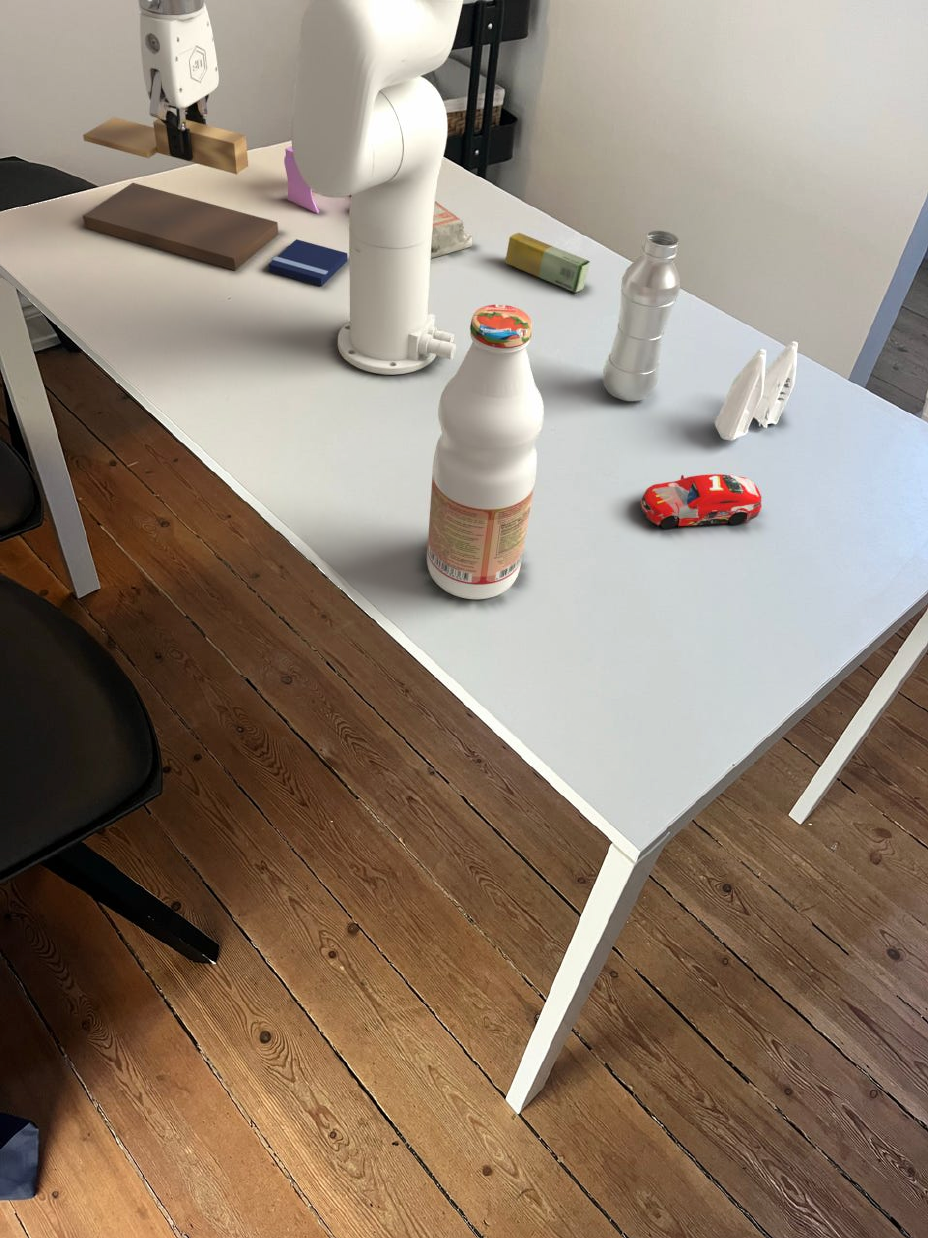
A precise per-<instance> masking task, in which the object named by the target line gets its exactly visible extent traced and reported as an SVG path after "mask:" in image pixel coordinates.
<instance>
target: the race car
mask: <svg viewBox="0 0 928 1238" xmlns="http://www.w3.org/2000/svg"><path fill="white" fill-rule="evenodd" d="M756 485H757V484H756V483H755V482H754V481H753V480H751V479H749V478H747V477H745V476H737V475H732V474H720V473H719V474H718V473H717V474H716V473H714V474H710V473H709V474H698V475H691V476H687V477H685V476H684V474H681V476H680V479H678V480H674V481H667V482H661V483H654V484H652V485H650V486H649V487H647V489H646V490H645V491H644V493H643V495H642V496H641V500H640V503H639V504H640V510H641V513H642V514H643V515H644V517H645V518H646V519H647V520H648V521H650V522H652V523H653V524H655V525H657V526H661V528H662V529H664V530H670V529H673V528H674V527H676V526H677V525H678V527H683V526H684V527H685V526H701V525H717V524H718V525H720V524H721V525H722V524H728V523H729V524H730V525H732V526H737V525H740V524H742V523H744V522H749V521H752V520H754V519H755V518H757V517H758V516H759V514H760V512H761V509H762V496H761V495H762V494H761V493H760V490H759V488H758V487H757V486H756Z"/></svg>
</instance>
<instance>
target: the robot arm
mask: <svg viewBox="0 0 928 1238" xmlns="http://www.w3.org/2000/svg"><path fill="white" fill-rule="evenodd" d="M463 4H464V0H309V3H308V5H307V7H306V9H305V11H304V14H303V17H302V20H301V26H300V32H299V39H298V48H297V58H296V68H295V78H294V89H293V98H292V99H293V100H292V109H291V123H290V139H291V140H290V142H291V146H292V150H293V155H294V159H295V163H296V166H297V168H298V171H299V173H300V175H301V177H302V178H303V180H304V181H305V183H306V184H307V185H308V186H309V187H310V188H311V189H312V192H314V193H316V194H318V195H320V196H323V197H326V198H331V199H337V198H338V199H340V198H345V197H349V196H350V195H352V196H351V197H350V201H349V210H348V211H349V212H348V239H349V240H348V248H349V249H348V251H349V252H348V253H349V254H348V255H349V257H348V258H349V259H348V261H349V262H348V263H349V265H348V266H349V268H348V269H349V321H348V322H347V323H345V324H344V325H343V326H342V327H341V329H339V332H338V334H337V348H338V349H337V350H338V351H339V354H340V355H341V356H342V358H343V359H344V360H345V361H347V362H348V363H349V364H350V365H352V366H354V367H355V368H357V369H360V370H362V371H365V372H367V373H372V374H373V373H374V374H378V375H388V376H389V375H392V376H393V375H394V376H395V375H405V374H410V373H413V372H416V371H419V370H421V369H423V368H425V367H427V366H428V365H430V364H431V363H432V362H433V361H434V360H435V358H436V356H438V357H442V358H443V359H448V360H451V361H453V359H454V358H455V356H456V353H457V344H456V343H454V340H455V334H454V333H453V332H448V331H443V330H440V329H438V327H436V326H435V322H436V315H435V314H433V313H429V312H428V311H429V295H430V278H431V277H430V276H431V259H432V258H431V242H432V231H433V214H434V202H435V201H436V192H437V186H438V180H439V175H440V171H441V167H442V163H443V158H444V155H445V150H446V147H447V139H448V128H449V127H448V115H447V110H446V107H445V103H444V101H443V98H442V97H441V94H440V93H439V91H438V89H437V88H436V87H435V86H434V85H433V84H432V83H431V81H429V80H428V79H426V78H424V77H422V76H424V75H427V74H429V73H431V72H434V71H435V70H438V68H440V67H441V66H442V65H443V64H445V62H446V61H447V60H448V58H449V55H450V53H451V51H452V48H453V46H454V42H455V39H456V34H457V30H458V26H459V21H460V16H461V12H462V8H463ZM138 8H139V11H140V14H139V17H140V18H139V28H140V29H139V32H140V33H139V36H140V51H141V52H140V53H141V62H142V63H141V64H142V73H143V80H144V85H145V86H144V87H145V90H146V94H147V97H148V99H149V101H150V102H149V103H150V104H149V109H148V112H149V116H150V117H152V118H155V119H160V120H161V121H162V123H163V125H164V126H166V130H167V137H168V144H169V151H170V155H171V156H172V158H175V157H176V158H175V159H178V158H179V159H178V160H182V159H183V161H186V160H187V161H186V162H189V161H191V160H192V159H193V153H192V144H191V136H190V129H188V128H186V120H189V121H193V122H197V123H201V124H205V125H207V121H206V120H207V119H206V117H207V116H208V107H207V103H208V99H209V96H210V94H212V93H213V92H214V91H215V90H216V89H217V88H218V86H219V83H220V78H219V68H218V67H219V66H218V59H217V51H216V47H215V46H216V45H215V40H214V33H213V28H212V24H211V20H210V16H209V13H208V9H207V6H206V3H205V2H204V0H138ZM171 109H174V110H175V112H173V111H171ZM171 156H170V157H171Z"/></svg>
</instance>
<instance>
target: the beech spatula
mask: <svg viewBox="0 0 928 1238" xmlns="http://www.w3.org/2000/svg"><path fill="white" fill-rule="evenodd" d="M152 125H153V126H149V125H145V124H142V123H139V122H134V121H131V120H127V119H124V118H119V117H116V116H113V117H112V118H109V119H107V120H106V121H104V122H103V123H101V124H99V125H98V126H96V127H94V128H92V129H91V130H89V131H87V132H86V133H84V134H83V135H82V138H83V141H84V142H87V143H91V144H95V145H99V146H102V147H106V148H109V149H113V150H117V151H120V152H124V153H128V154H130V155H134V156H138V157H142V158H145V159H150V158H152V157H153V156H155V155H157V154H159V155H164V156H168V157H172V156H171V155H170V151H169V144H168V137H167V130H166V126H164V125H163V123H162V121H161V120H160V119H159V118H156V120H154V121H153V122H152ZM186 128H188V129H190V136H191V144H192V153H193V159H192V160H191V161H187V160H185V161H186V162H190V163H194V164H197V165H200V166H204V167H208V168H211V169H215V170H218V171H219V170H220V171H223V172H227V173H230V174H234V175H238V174H239V173H241V172H242V171H244V170H245V169H246V168H248V167H249V156H248V145H247V135H246V134H244V133H243V134H242V133H239V132H235V131H231V130H228V129H223V128H220V127H216V126H211V125H208V124H206V125H205V124H201V123H197V122H193V121H189V120H186ZM172 158H173V157H172ZM174 159H178V160H180V159H179V158H176V157H174ZM182 160H183V159H181V161H182ZM183 161H184V160H183Z"/></svg>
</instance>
